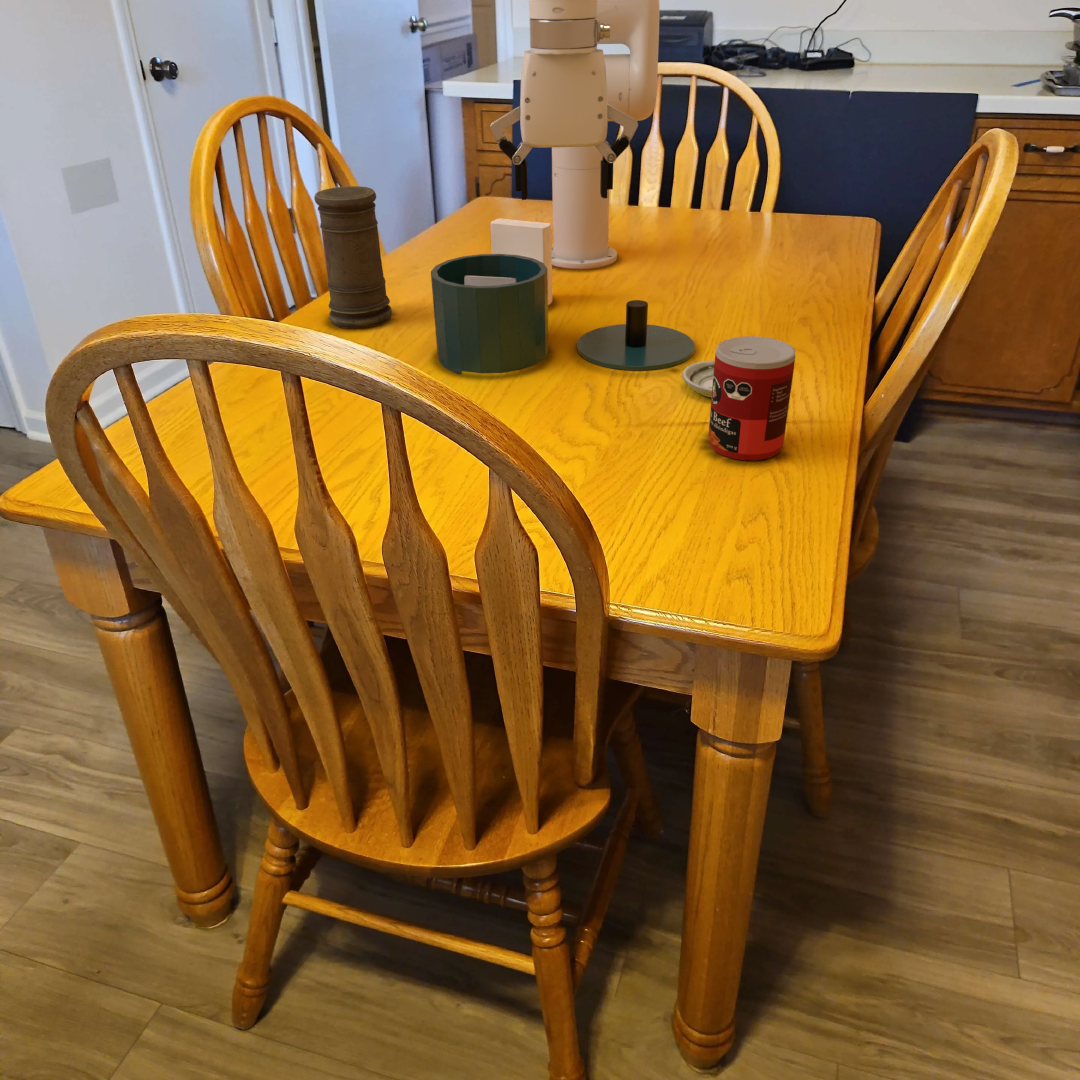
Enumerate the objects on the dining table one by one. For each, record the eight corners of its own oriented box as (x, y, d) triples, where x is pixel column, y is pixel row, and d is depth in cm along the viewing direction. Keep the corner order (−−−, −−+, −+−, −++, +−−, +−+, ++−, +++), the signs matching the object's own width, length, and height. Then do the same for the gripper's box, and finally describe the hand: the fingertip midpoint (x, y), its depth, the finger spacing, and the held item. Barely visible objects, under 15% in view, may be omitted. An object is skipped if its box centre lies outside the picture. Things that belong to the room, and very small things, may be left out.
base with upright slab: (561, 298, 143) (561, 218, 137) (537, 316, 136) (535, 233, 130) (509, 291, 146) (506, 213, 140) (483, 309, 140) (478, 227, 133)
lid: (574, 333, 130) (574, 286, 127) (684, 330, 130) (688, 283, 127) (580, 376, 117) (580, 325, 114) (703, 373, 117) (707, 322, 114)
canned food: (700, 432, 103) (708, 337, 97) (770, 428, 104) (782, 333, 98) (717, 464, 97) (726, 365, 91) (792, 460, 97) (806, 360, 91)
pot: (441, 337, 130) (435, 255, 124) (547, 335, 130) (546, 252, 124) (433, 378, 117) (425, 289, 111) (550, 375, 118) (548, 286, 111)
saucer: (744, 416, 106) (746, 396, 105) (667, 399, 111) (669, 380, 109) (774, 387, 113) (776, 368, 112) (700, 372, 118) (702, 354, 116)
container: (401, 311, 139) (389, 186, 130) (373, 332, 132) (358, 201, 122) (349, 306, 142) (332, 183, 132) (318, 326, 135) (299, 197, 125)
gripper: (638, 33, 107) (632, 188, 116) (488, 36, 107) (494, 191, 116) (643, 38, 100) (637, 202, 109) (484, 41, 100) (491, 205, 110)
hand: (564, 196), depth 113 cm, fingers open, 9 cm apart
